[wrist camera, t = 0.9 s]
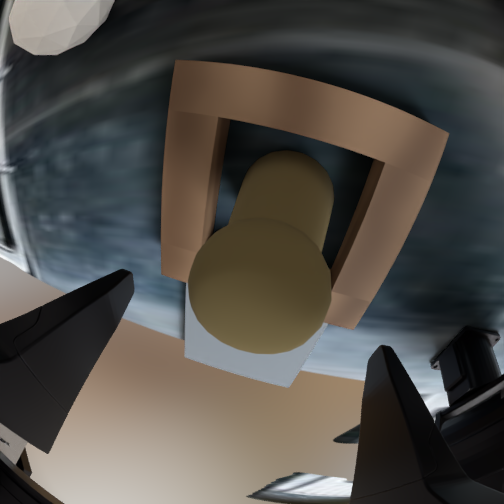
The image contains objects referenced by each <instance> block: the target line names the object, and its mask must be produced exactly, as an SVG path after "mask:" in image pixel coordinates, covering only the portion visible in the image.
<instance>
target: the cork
mask: <svg viewBox="0 0 504 504" xmlns="http://www.w3.org/2000/svg"><path fill="white" fill-rule="evenodd" d="M333 203H334V190H333V184H332V182H331V179H330V177H329V175H328V173H327V171H326V170H325V169H324V168H323V167H322V166H321V165H320V164H319V163H318V162H317V161H316V160H315V159H313V158H311V157H309V156H307V155H305V154H303V153H300V152H294V151H289V150H284V151H277V152H271V153H269V154H267V155H265V156H263V157H261V158H259V159H258V160H257V161H256V162H255V163H254V164H253V165H252V166H251V167H250V168H249V169H248V171H247V173H246V175H245V178H244V180H243V182H242V185H241V188H240V191H239V194H238V197H237V200H236V203H235V205H234V208H233V211H232V214H231V217H230V220H229V223H228V226H225V227H223V228H222V229H220V230H218V231H217V232H215V233H214V234H213V235H212V236H211V237H210V238H209V239H208V240H207V241H206V242H205V243H204V244H203V245H202V247H201V248H200V250H199V251H198V252H197V254H196V256H195V259H194V261H193V264H192V267H191V270H190V273H189V278H188V292H189V300H190V304H191V307H192V310H193V312H194V314H195V316H196V318H197V320H198V322H199V323H200V324H201V325H202V326H203V327H204V328H205V330H206V331H207V332H208V333H209V334H211V335H212V336H214V337H215V338H216V339H218V340H219V341H221V342H222V343H224V344H226V345H229V346H231V347H233V348H235V349H237V350H241V351H245V352H250V353H254V354H278V353H283V352H288V351H291V350H293V349H295V348H297V347H299V346H301V345H303V344H304V343H305V342H307V341H308V340H309V339H310V338H311V337H312V336H313V335H314V334H315V333H316V332H317V331H318V330H319V329H320V328H321V327H322V324H323V322H324V319H325V317H326V315H327V312H328V309H329V307H330V304H331V301H332V296H331V275H330V270H329V268H328V266H327V264H326V262H325V259H324V257H323V255H322V249H323V245H324V241H325V237H326V233H327V228H328V224H329V220H330V216H331V211H332V207H333Z"/></svg>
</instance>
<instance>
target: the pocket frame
mask: <svg viewBox="0 0 504 504" xmlns="http://www.w3.org/2000/svg"><path fill="white" fill-rule="evenodd" d="M230 119H233V120H238V121H243V122H248V123H253V124H257V125H262V126H266V127H271V128H275V129H279V130H283V131H287V132H291V133H295V134H299V135H302V136H306V137H310V138H313V139H317V140H320V141H323V142H327V143H330V144H333V145H336V146H339V147H343V148H346V149H349V150H352V151H355V152H357V153H360V154H363V155H366V156H369V157H372V158H374V160H373V163H372V166H371V169H370V172H369V175H368V178H367V180H366V183H365V186H364V189H363V191H362V194H361V197H360V199H359V202H358V205H357V207H356V210H355V213H354V215H353V218H352V220H351V223H350V225H349V228H348V230H347V233H346V235H345V237H344V240H343V242H342V245H341V247H340V249H339V252H338V254H337V256H336V259H335V261H334V263H333V266H332V268H331V269H329V270H330V275H331V296H332V301H331V304H330V307H329V309H328V312H327V315H326V317H325V319H324V322H323V323H327V324H331V325H335V326H339V327H343V328H348V329H352V330H353V329H354V328H355V326H356V325H357V323H358V322H359V320H360V319H361V317H362V316H363V314H364V312H365V311H366V309H367V308H368V306H369V304H370V303H371V301H372V300H373V298H374V296H375V295H376V293H377V291H378V290H379V288H380V286H381V284H382V283H383V281H384V279H385V277H386V276H387V274H388V272H389V270H390V268H391V267H392V265H393V263H394V261H395V259H396V257H397V255H398V254H399V252H400V250H401V248H402V246H403V244H404V242H405V240H406V238H407V236H408V234H409V232H410V230H411V228H412V226H413V224H414V221H415V219H416V217H417V215H418V213H419V211H420V208H421V206H422V204H423V202H424V199H425V197H426V195H427V192H428V190H429V187H430V185H431V183H432V180H433V178H434V175H435V172H436V170H437V167H438V165H439V162H440V159H441V156H442V154H443V151H444V148H445V145H446V142H447V139H448V136H449V133H447V132H445V131H443V130H442V129H440V128H438V127H436V126H434V125H432V124H430V123H428V122H426V121H424V120H422V119H420V118H417V117H415V116H413V115H411V114H409V113H406V112H404V111H402V110H400V109H397V108H395V107H392V106H390V105H388V104H385V103H383V102H380V101H377V100H375V99H372V98H369V97H367V96H364V95H361V94H358V93H355V92H352V91H349V90H346V89H343V88H340V87H336V86H333V85H330V84H326V83H323V82H319V81H315V80H312V79H308V78H304V77H299V76H295V75H291V74H286V73H281V72H277V71H271V70H266V69H260V68H254V67H248V66H241V65H234V64H225V63H216V62H204V61H189V60H175V66H174V72H173V79H172V86H171V93H170V101H169V109H168V118H167V128H166V138H165V150H164V164H163V181H162V207H161V274H162V275H165V276H168V277H171V278H174V279H177V280H180V281H183V282H186V283H188V278H189V273H190V270H191V267H192V264H193V261H194V259H195V256H196V254H197V252H198V251H199V250H200V248H201V247H202V245H203V244H204V243H205V242H206V241H207V240H208V239H209V238H210V237H211V236H212V235H213V230H214V223H215V215H216V208H217V201H218V194H219V187H220V180H221V174H222V167H223V161H224V155H225V149H226V143H227V137H228V131H229V125H230Z"/></svg>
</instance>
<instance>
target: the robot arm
mask: <svg viewBox="0 0 504 504" xmlns="http://www.w3.org/2000/svg"><path fill="white" fill-rule="evenodd" d="M133 294H134V281H133V274H132V272H130V271H128V270H125V269H120V270H117V271H115V272H113V273H111V274H109V275H106V276H104V277H102V278H100V279H98V280H95V281H93V282H91V283H89V284H87V285H85V286H82V287H80V288H78V289H76V290H74V291H72V292H70V293H67V294H65V295H63V296H61V297H59V298H57V299H55V300H53V301H51V302H49V303H47V304H45V305H43V306H40V307H38V308H36V309H34V310H32V311H30V312H28V313H26V314H24V315H21V316H19V317H17V318H14V319H12V320H9V321H7V322H4V323H1V324H0V504H64V503H63V502H61V501H60V500H58V499H57V498H55V497H54V496H53V495H51V494H50V493H49V492H47V491H46V490H45V489H43V488H42V487H41V486H40V485H38V484H37V483H36V482H35V481H33V480H32V479H31V478H30V476H31V474H32V471H31V468H30V464H29V461H28V457H27V453H26V449H25V446H26V444H27V442H29V443H30V444H32V445H33V446H35V447H36V448H38V449H40V450H42V451H43V452H45V453H47V454H48V453H49V451H50V450H51V448H52V446H53V443H54V441H55V439H56V437H57V435H58V433H59V431H60V429H61V427H62V425H63V423H64V421H65V419H66V417H67V415H68V413H69V411H70V409H71V407H72V405H73V403H74V401H75V399H76V397H77V396H78V394H79V392H80V390H81V388H82V386H83V385H84V383H85V381H86V379H87V377H88V376H89V374H90V372H91V370H92V369H93V367H94V365H95V363H96V362H97V360H98V358H99V357H100V355H101V353H102V351H103V350H104V348H105V347H106V345H107V343H108V341H109V340H110V338H111V337H112V335H113V333H114V332H115V330H116V328H117V326H118V324H119V323H120V320H121V318H122V316H123V314H124V312H125V310H126V308H127V306H128V304H129V302H130V300H131V298H132V296H133ZM499 340H500V335H499V334H497V333H493V332H489V331H485V330H481V329H477V328H472V327H465V328H463V329H462V331H461V332H460V333H459V334H458V335H457V336H456V338H455V339H454V340H453V341H452V342H451V343H450V344H449V345H448V347H447V348H446V349H445V350H444V351H443V352H442V353H441V354H440V355H439V356H438V357H437V358H436V359H435V360H434V361H433V362H432V363H431V368H432V369H435V370H441V374H442V379H443V384H444V389H445V391H447V396H448V401H449V406H450V407H449V408H447V409H445V410H443V411H439V412H437V413H436V420H435V421H434V419H433V418H432V416H431V414H430V412H429V410H428V408H427V407H426V405H425V403H424V401H423V399H422V398H421V396H420V394H419V392H418V391H417V389H416V387H415V385H414V384H413V382H412V380H411V378H410V377H409V375H408V373H407V372H406V370H405V368H404V367H403V365H402V363H401V362H400V360H399V358H398V357H397V355H396V353H395V352H394V350H393V349H392V347H390V346H386V345H380V346H379V347H378V348H377V349H376V351H375V352H374V353H373V354H372V356H371V357H370V358H369V361H368V365H367V372H366V379H365V385H364V392H363V398H362V409H361V422H360V434H359V443H358V452H357V460H356V467H355V474H354V480H353V486H352V492H351V497H350V502H349V504H504V374H503V375H501V372H500V368H499V365H498V362H497V360H496V357H495V354H494V351H493V346H494V345H495V344H496V343H497V342H498V341H499ZM434 422H435V423H434Z"/></svg>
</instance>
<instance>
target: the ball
mask: <svg viewBox="0 0 504 504" xmlns="http://www.w3.org/2000/svg"><path fill="white" fill-rule="evenodd" d="M114 1H115V0H15V1H14V4H13V7H12V10H11V13H10V16H9V23H10V28H11V32H12V37H13V41H14V44H16V45H18V46H20V47H21V48H23V49H25V50H27V51H28V52H30V53H32V54H33V55H58V54H60V53H62V52H64V51H66V50H68V49H70V48H72V47H75V46H77V45H79V44H82V43H84V42H85V41H86V40H87V39H88V38H89V37H90V36H91V35H92V34H93V33H94V32H95V31H96V30H97V29H98V28H99V27H100V26H101V25H102V24H103V23H104V22H105V21H106V19H107V17H108V14H109V12H110V10H111V8H112V5H113V3H114Z"/></svg>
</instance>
